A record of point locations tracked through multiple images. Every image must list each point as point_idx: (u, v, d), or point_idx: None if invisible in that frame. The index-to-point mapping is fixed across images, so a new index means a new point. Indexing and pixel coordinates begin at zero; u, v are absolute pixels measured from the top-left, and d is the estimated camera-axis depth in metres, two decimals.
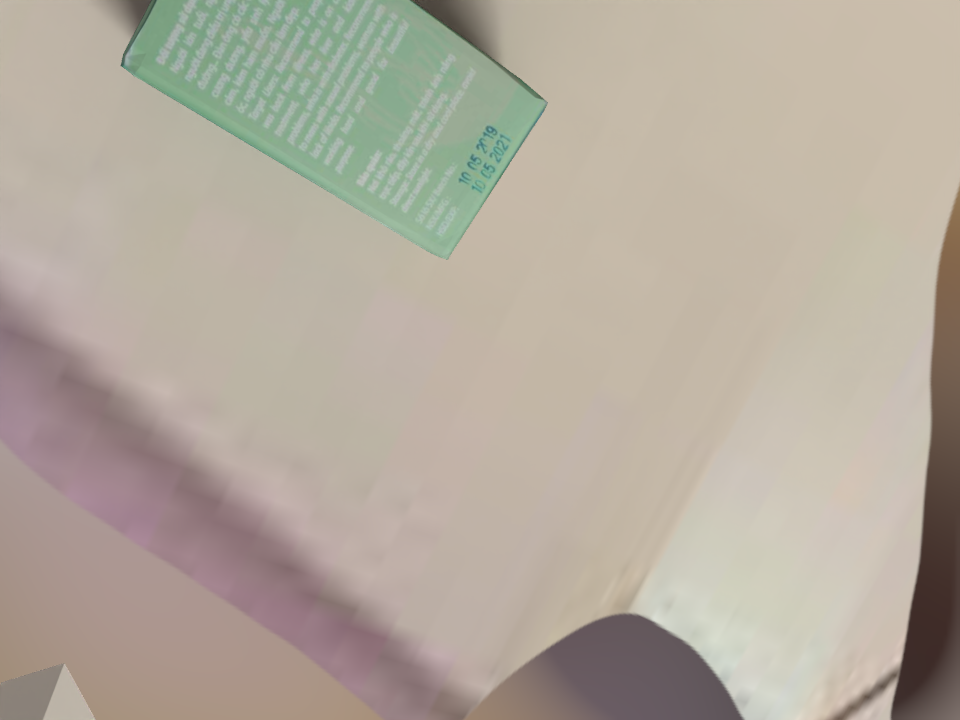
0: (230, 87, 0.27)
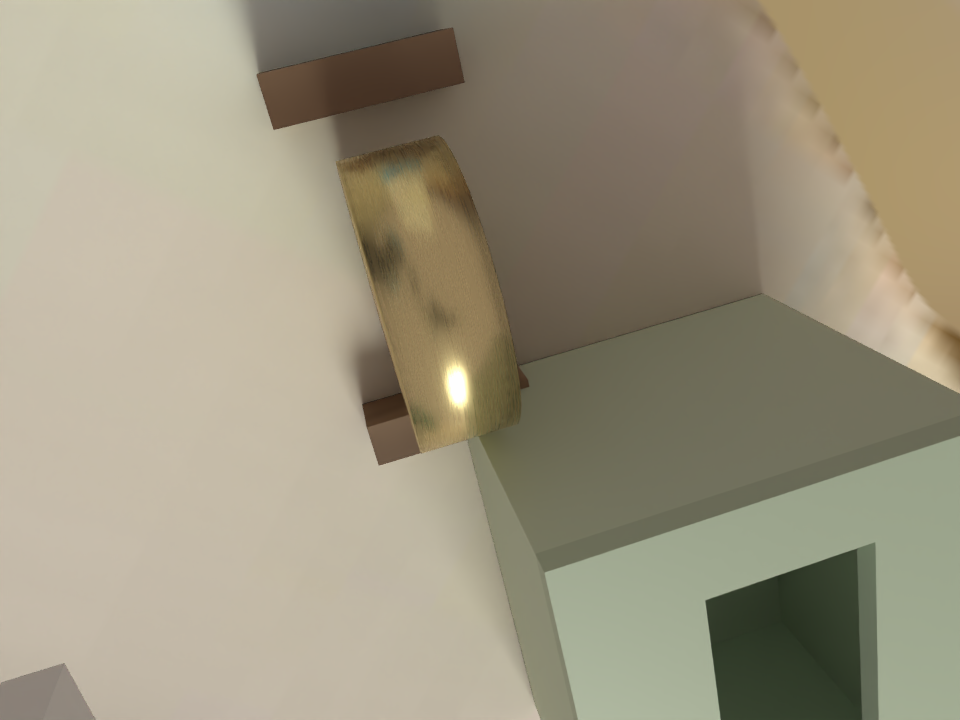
0: None
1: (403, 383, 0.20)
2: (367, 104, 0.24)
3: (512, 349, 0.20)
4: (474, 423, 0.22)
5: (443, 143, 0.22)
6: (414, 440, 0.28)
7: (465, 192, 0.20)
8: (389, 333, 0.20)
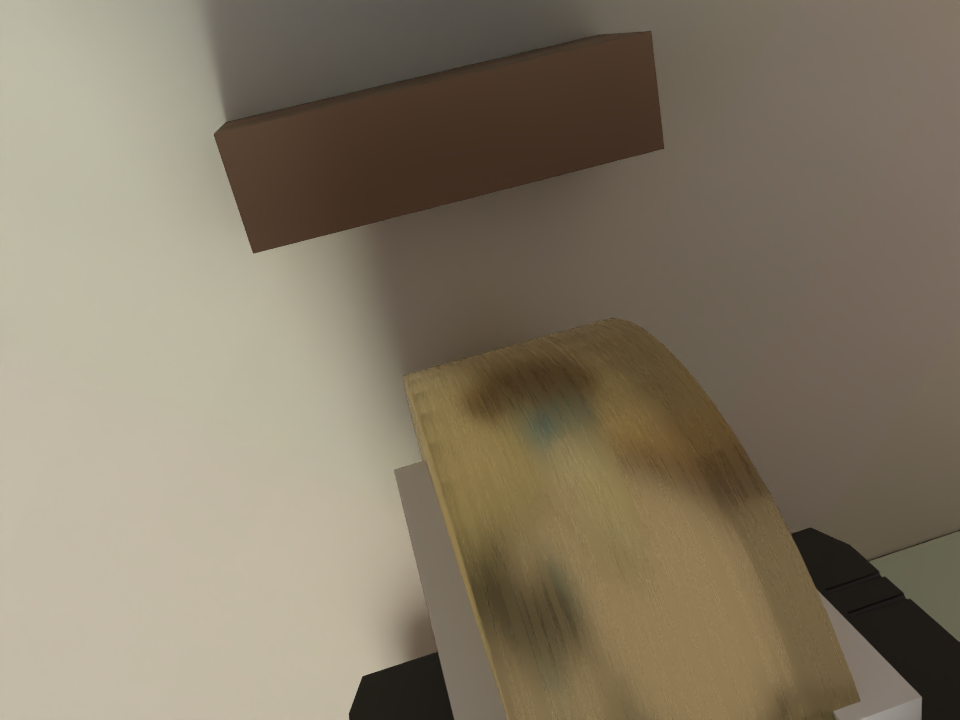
0: None
1: None
2: (459, 196, 0.11)
3: None
4: None
5: (704, 401, 0.08)
6: None
7: (814, 613, 0.07)
8: None
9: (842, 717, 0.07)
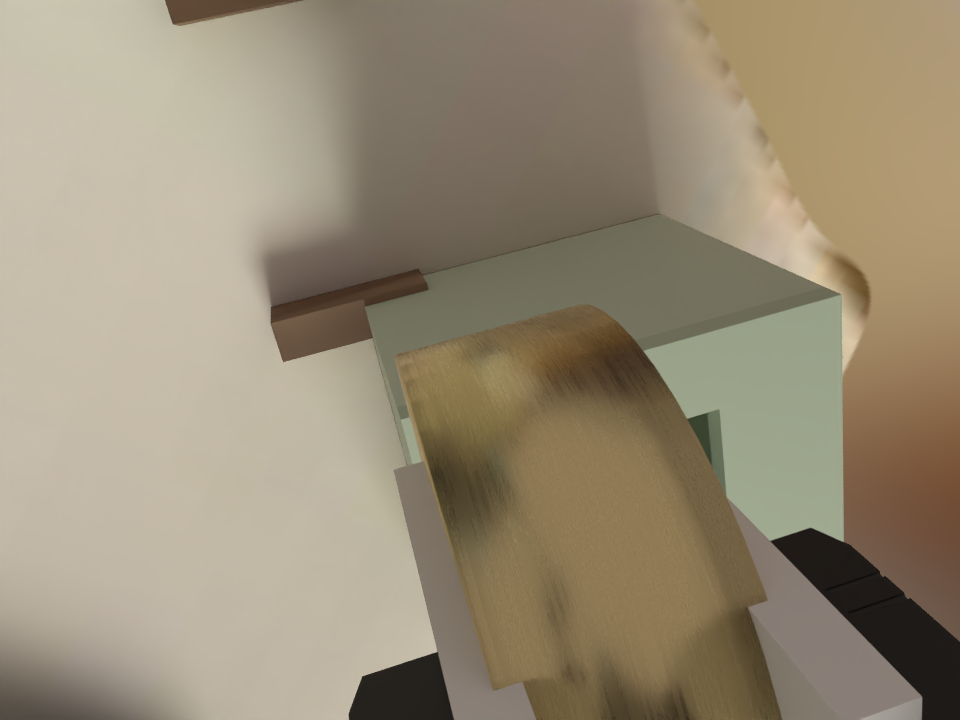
0: None
1: None
2: (263, 3, 0.26)
3: None
4: None
5: (596, 311, 0.11)
6: (317, 338, 0.30)
7: (665, 398, 0.09)
8: None
9: (842, 717, 0.07)
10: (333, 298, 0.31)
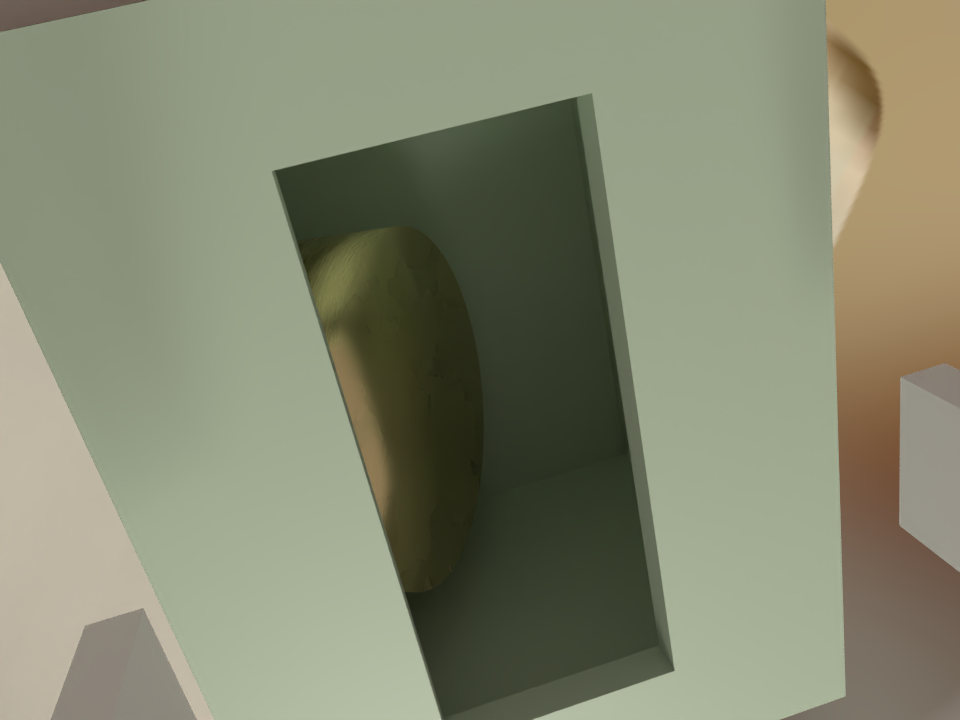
0: None
1: None
2: None
3: None
4: None
5: (389, 227, 0.19)
6: None
7: (353, 269, 0.17)
8: None
9: None
10: None
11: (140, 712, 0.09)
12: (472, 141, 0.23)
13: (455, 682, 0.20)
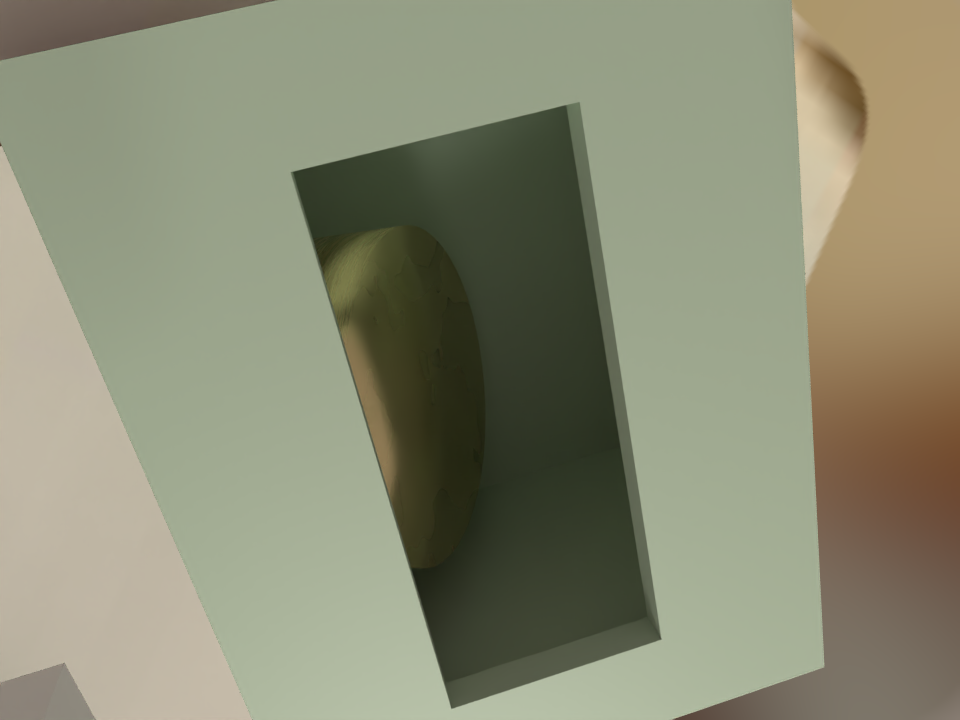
0: None
1: None
2: None
3: None
4: None
5: None
6: None
7: (362, 264, 0.18)
8: None
9: None
10: None
11: None
12: (475, 146, 0.24)
13: (457, 655, 0.21)
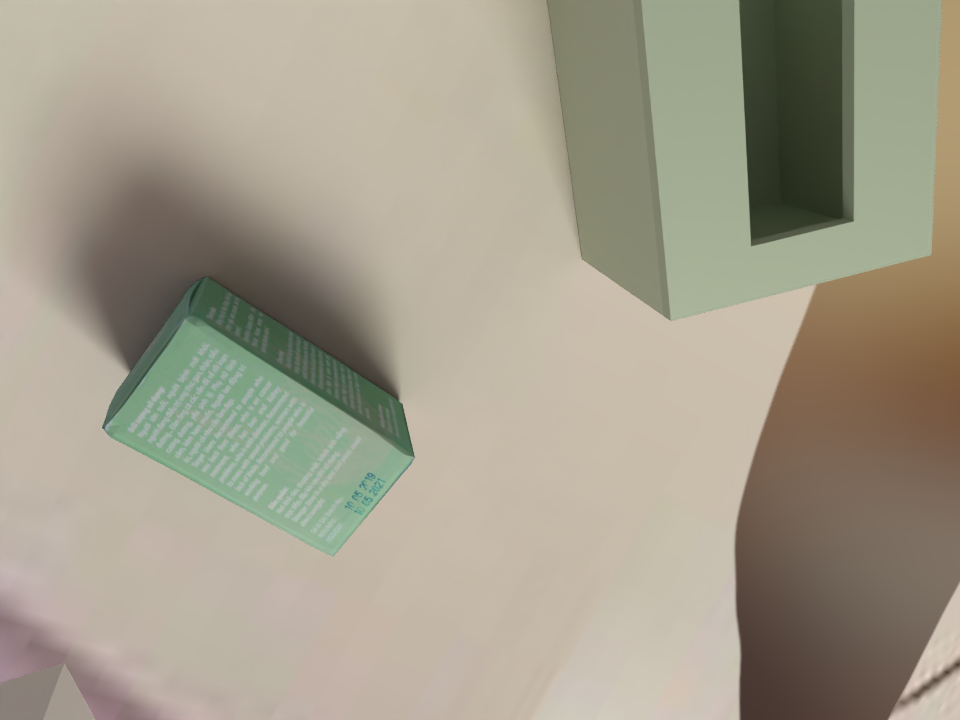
0: (179, 447, 0.37)
1: None
2: None
3: None
4: None
5: None
6: None
7: None
8: None
9: None
10: None
11: None
12: None
13: None
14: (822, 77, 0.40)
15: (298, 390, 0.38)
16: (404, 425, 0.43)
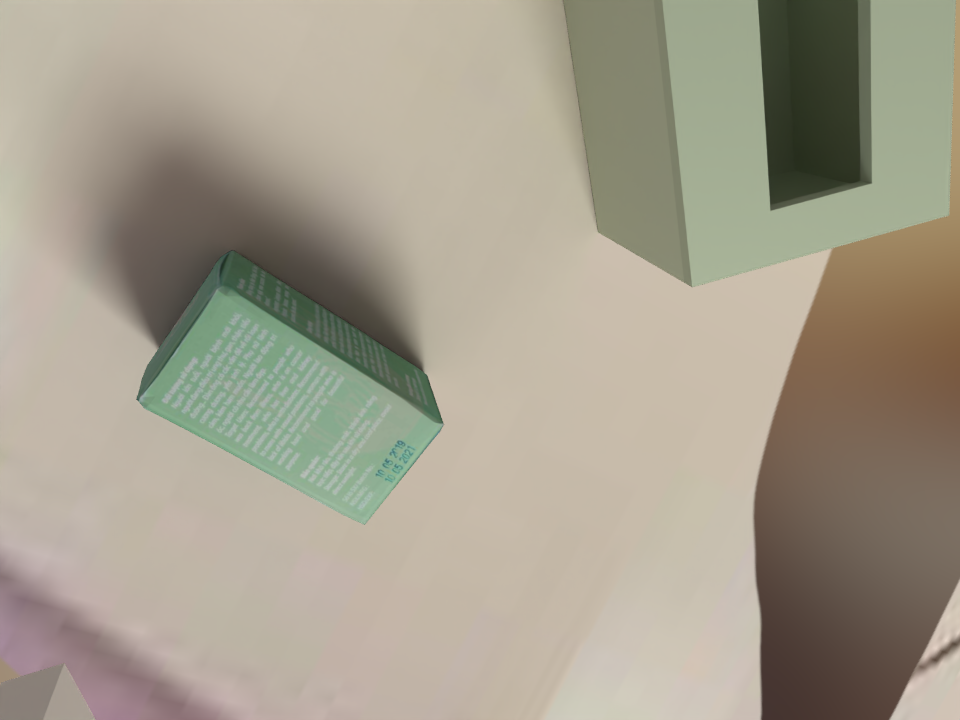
0: (212, 417, 0.38)
1: None
2: None
3: None
4: None
5: None
6: None
7: None
8: None
9: None
10: None
11: None
12: None
13: None
14: (835, 42, 0.40)
15: (329, 359, 0.38)
16: (431, 394, 0.44)
